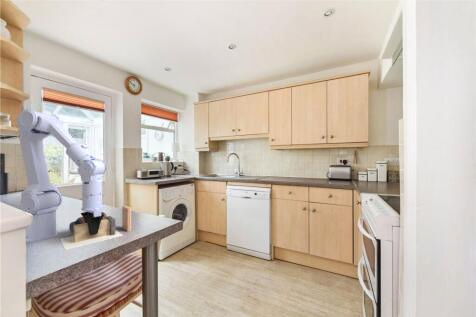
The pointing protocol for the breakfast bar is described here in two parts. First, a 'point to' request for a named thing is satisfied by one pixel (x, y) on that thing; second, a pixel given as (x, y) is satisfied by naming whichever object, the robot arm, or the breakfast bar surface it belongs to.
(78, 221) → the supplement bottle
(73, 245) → the rest mat
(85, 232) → the wooden tool caddy
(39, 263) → the breakfast bar surface
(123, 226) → the tile
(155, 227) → the breakfast bar surface
